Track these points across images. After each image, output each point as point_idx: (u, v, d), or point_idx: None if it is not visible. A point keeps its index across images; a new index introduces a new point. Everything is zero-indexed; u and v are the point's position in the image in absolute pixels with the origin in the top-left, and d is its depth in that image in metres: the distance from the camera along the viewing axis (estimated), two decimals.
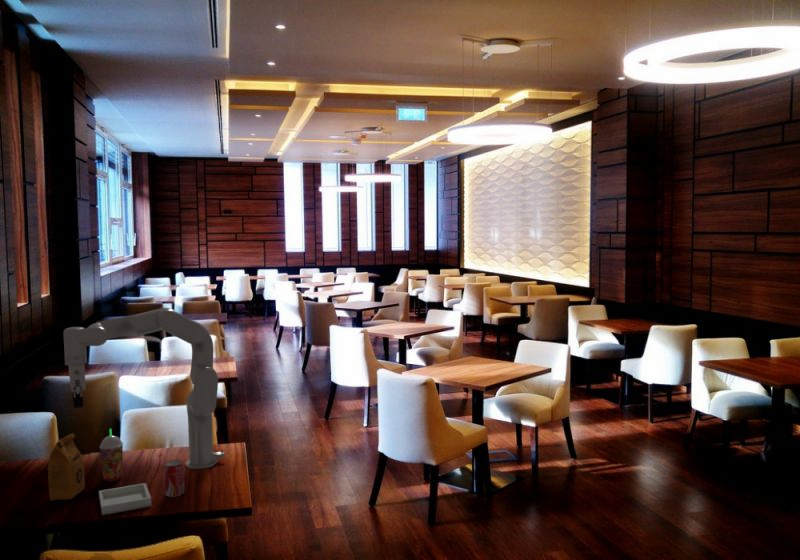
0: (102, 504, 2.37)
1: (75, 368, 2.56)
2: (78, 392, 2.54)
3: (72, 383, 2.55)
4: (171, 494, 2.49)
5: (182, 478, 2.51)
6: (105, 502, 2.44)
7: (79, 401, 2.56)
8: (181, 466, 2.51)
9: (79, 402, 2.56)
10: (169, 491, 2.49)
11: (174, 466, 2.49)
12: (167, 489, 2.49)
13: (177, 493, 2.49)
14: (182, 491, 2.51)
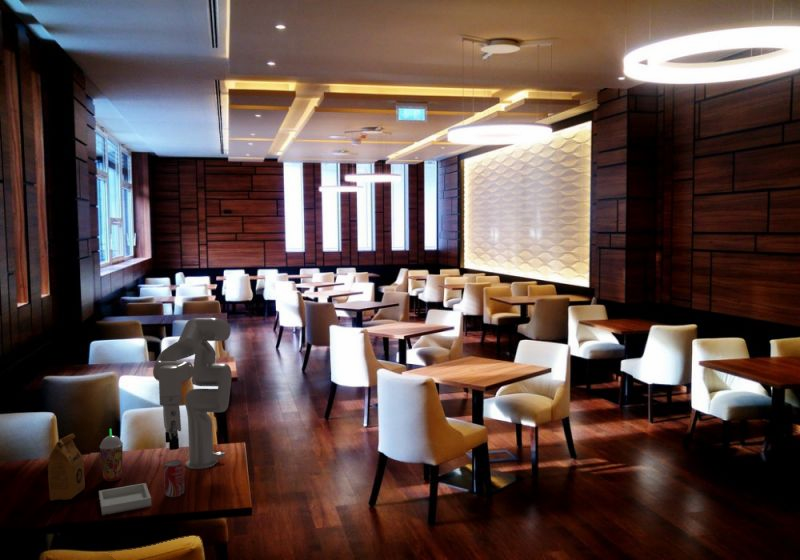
0: (102, 504, 2.37)
1: (171, 409, 2.45)
2: (175, 434, 2.43)
3: (168, 424, 2.45)
4: (171, 494, 2.49)
5: (182, 478, 2.51)
6: (105, 502, 2.44)
7: (175, 443, 2.46)
8: (181, 466, 2.51)
9: (175, 444, 2.46)
10: (169, 491, 2.49)
11: (174, 466, 2.49)
12: (167, 489, 2.49)
13: (177, 493, 2.49)
14: (182, 491, 2.51)
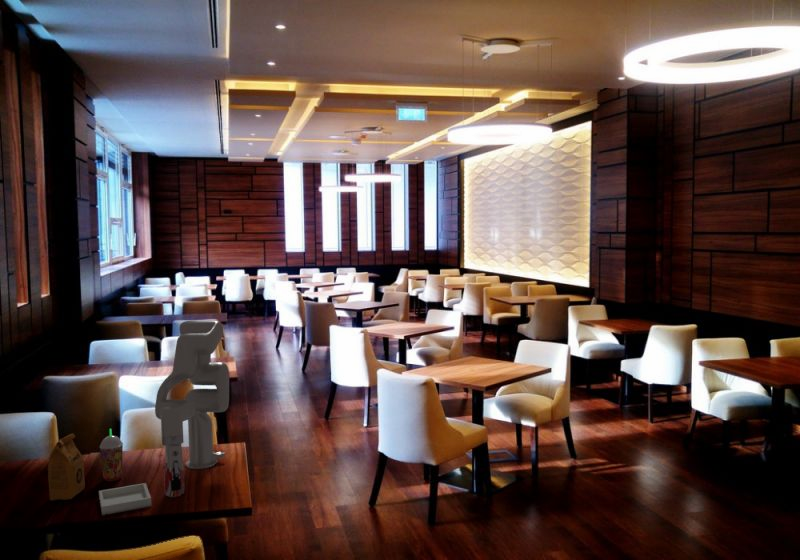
0: (102, 504, 2.37)
1: (173, 449, 2.47)
2: (177, 476, 2.46)
3: (170, 464, 2.46)
4: (171, 494, 2.49)
5: (182, 478, 2.51)
6: (105, 502, 2.44)
7: (177, 484, 2.48)
8: None
9: (177, 485, 2.48)
10: (169, 491, 2.49)
11: None
12: (167, 489, 2.49)
13: (177, 493, 2.49)
14: (182, 491, 2.51)
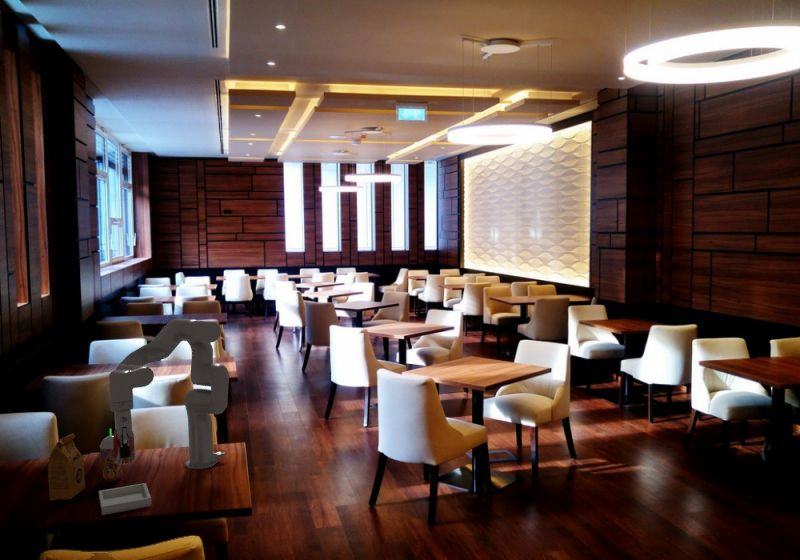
0: (102, 504, 2.37)
1: (122, 414, 2.39)
2: (125, 442, 2.38)
3: (119, 431, 2.38)
4: (120, 461, 2.41)
5: (132, 445, 2.43)
6: (105, 502, 2.44)
7: (126, 451, 2.40)
8: None
9: (126, 452, 2.40)
10: (118, 458, 2.41)
11: None
12: (115, 456, 2.41)
13: (126, 461, 2.42)
14: (132, 459, 2.43)
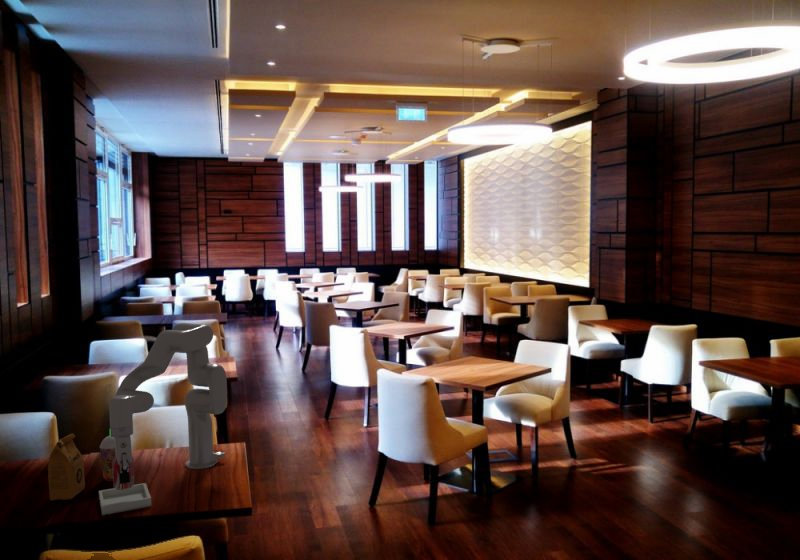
0: (102, 504, 2.37)
1: (122, 440, 2.39)
2: (125, 468, 2.38)
3: (118, 456, 2.39)
4: (119, 487, 2.42)
5: (131, 471, 2.44)
6: (105, 502, 2.44)
7: (125, 477, 2.40)
8: None
9: (125, 478, 2.40)
10: (117, 484, 2.41)
11: None
12: (115, 481, 2.42)
13: (125, 486, 2.42)
14: (131, 484, 2.44)
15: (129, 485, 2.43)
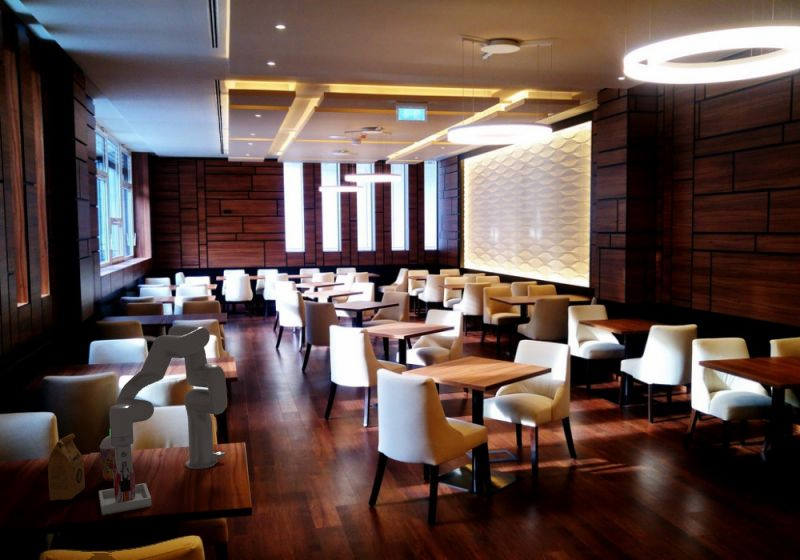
0: (102, 504, 2.37)
1: (122, 450, 2.40)
2: (126, 476, 2.38)
3: (119, 466, 2.39)
4: (121, 500, 2.42)
5: (132, 483, 2.44)
6: (105, 502, 2.44)
7: (126, 485, 2.40)
8: None
9: (126, 486, 2.40)
10: (119, 497, 2.42)
11: None
12: (116, 494, 2.43)
13: (127, 499, 2.43)
14: (132, 497, 2.45)
15: (130, 498, 2.44)
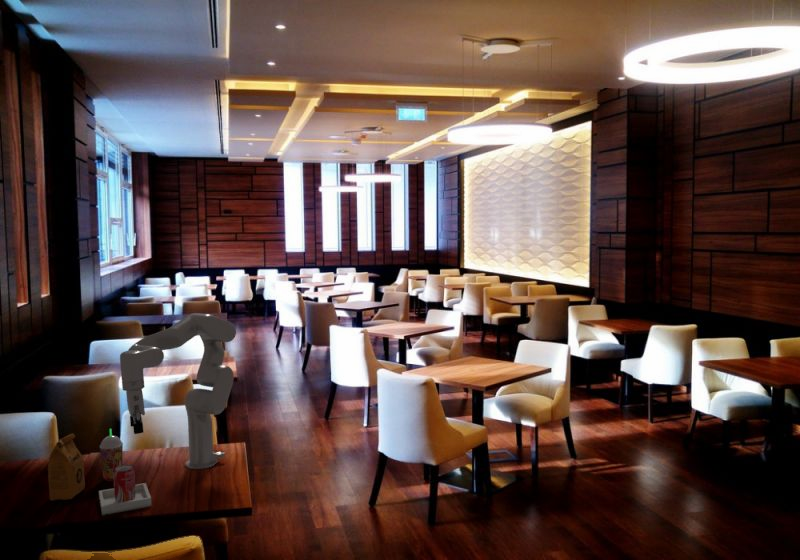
0: (102, 504, 2.37)
1: (134, 393, 2.48)
2: (138, 418, 2.46)
3: (131, 409, 2.47)
4: (121, 500, 2.42)
5: (132, 483, 2.44)
6: (105, 502, 2.44)
7: (139, 427, 2.48)
8: (131, 471, 2.44)
9: (139, 428, 2.48)
10: (119, 497, 2.42)
11: (124, 471, 2.42)
12: (116, 494, 2.43)
13: (127, 499, 2.43)
14: (132, 497, 2.45)
15: (130, 498, 2.44)
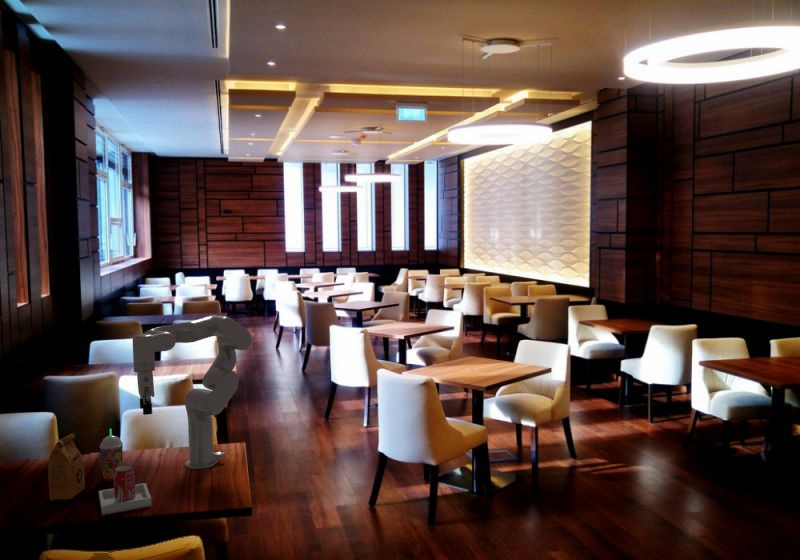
0: (102, 504, 2.37)
1: (144, 375, 2.56)
2: (148, 399, 2.54)
3: (142, 390, 2.55)
4: (121, 500, 2.42)
5: (132, 483, 2.44)
6: (105, 502, 2.44)
7: (148, 408, 2.56)
8: (131, 471, 2.44)
9: (148, 409, 2.56)
10: (119, 497, 2.42)
11: (124, 471, 2.42)
12: (116, 494, 2.43)
13: (127, 499, 2.43)
14: (132, 497, 2.45)
15: (130, 498, 2.44)
